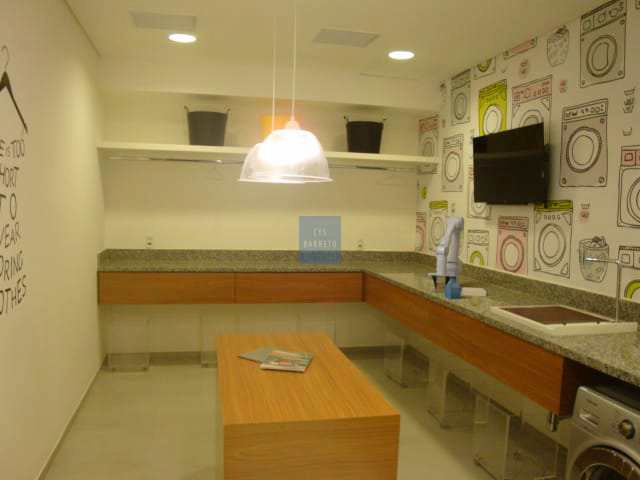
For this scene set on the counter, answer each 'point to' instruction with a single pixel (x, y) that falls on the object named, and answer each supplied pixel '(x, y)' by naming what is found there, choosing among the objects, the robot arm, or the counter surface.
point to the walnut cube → (440, 287)
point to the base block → (474, 291)
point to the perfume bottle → (453, 289)
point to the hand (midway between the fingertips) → (440, 289)
